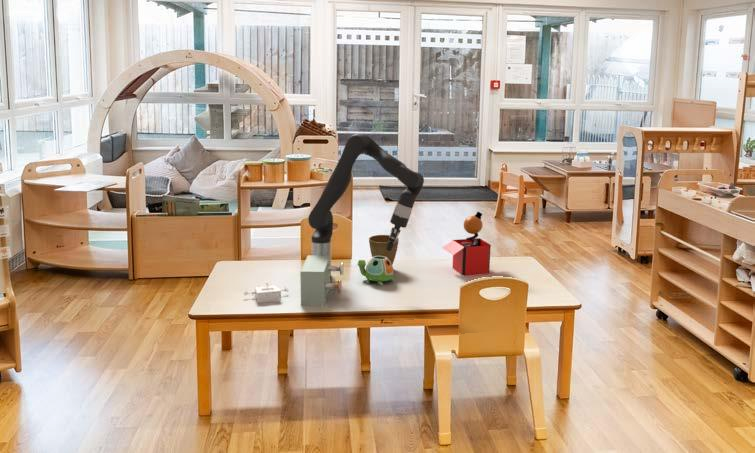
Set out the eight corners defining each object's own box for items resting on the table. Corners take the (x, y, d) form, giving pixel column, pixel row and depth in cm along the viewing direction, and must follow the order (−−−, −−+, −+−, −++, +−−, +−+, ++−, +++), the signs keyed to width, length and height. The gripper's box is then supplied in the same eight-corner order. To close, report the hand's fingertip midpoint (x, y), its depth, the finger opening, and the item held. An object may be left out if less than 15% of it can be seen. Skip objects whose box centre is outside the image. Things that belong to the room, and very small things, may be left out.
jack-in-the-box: (487, 264, 393) (490, 207, 386) (500, 272, 379) (503, 213, 372) (440, 268, 386) (442, 209, 379) (452, 276, 372) (454, 216, 365)
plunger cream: (313, 275, 343) (313, 263, 341) (314, 272, 348) (314, 260, 347) (342, 276, 342) (342, 264, 341) (343, 272, 348) (343, 260, 347)
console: (300, 304, 329) (300, 271, 326) (308, 286, 354) (307, 255, 351) (324, 305, 329) (323, 271, 325) (329, 286, 354) (329, 255, 351)
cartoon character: (285, 295, 350) (292, 300, 335) (241, 299, 344) (246, 304, 329) (284, 278, 350) (291, 282, 335) (240, 281, 344) (245, 286, 329)
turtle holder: (364, 274, 373) (365, 251, 371) (397, 280, 365) (398, 256, 362) (352, 281, 363) (352, 257, 360) (385, 287, 354) (386, 262, 352)
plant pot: (362, 268, 384) (362, 237, 380) (386, 263, 393) (386, 233, 389) (380, 275, 372) (380, 243, 369) (404, 270, 381) (404, 239, 377)
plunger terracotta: (310, 293, 332) (310, 281, 331) (311, 289, 338) (311, 277, 336) (340, 294, 332) (340, 282, 330) (341, 290, 337) (341, 278, 336)
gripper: (394, 210, 345) (382, 244, 347) (392, 213, 331) (379, 248, 333) (410, 216, 345) (398, 249, 347) (408, 219, 331) (396, 254, 333)
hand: (389, 249), depth 340 cm, fingers open, 8 cm apart
